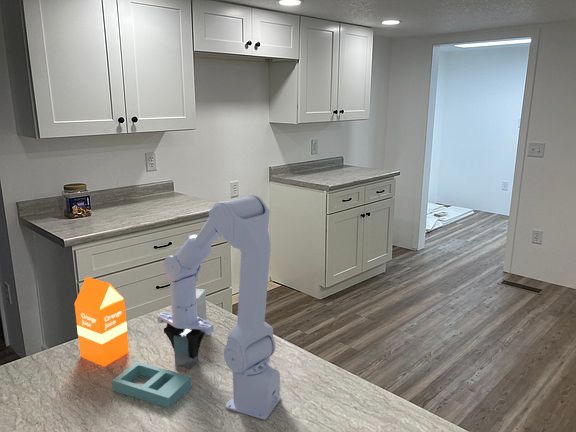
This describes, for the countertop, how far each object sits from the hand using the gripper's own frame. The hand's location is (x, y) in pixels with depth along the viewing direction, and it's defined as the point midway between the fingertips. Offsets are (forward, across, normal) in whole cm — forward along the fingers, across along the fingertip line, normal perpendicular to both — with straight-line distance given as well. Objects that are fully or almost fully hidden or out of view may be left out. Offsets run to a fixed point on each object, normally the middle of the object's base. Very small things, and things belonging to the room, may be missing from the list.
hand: (186, 354), depth 113 cm
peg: (+2, 0, 0) cm, 2 cm away
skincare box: (+3, +6, -13) cm, 15 cm away
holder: (+2, +1, +12) cm, 12 cm away
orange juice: (+3, +21, +5) cm, 22 cm away
